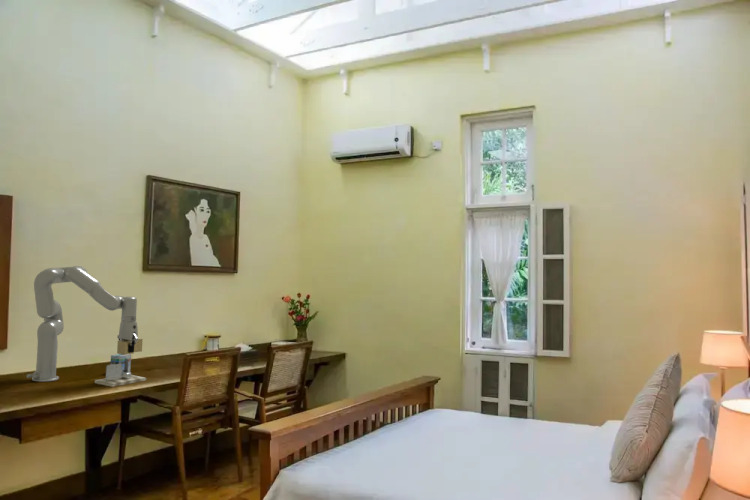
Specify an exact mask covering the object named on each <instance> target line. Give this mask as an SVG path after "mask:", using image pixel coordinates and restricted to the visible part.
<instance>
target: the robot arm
mask: <svg viewBox="0 0 750 500" xmlns="http://www.w3.org/2000/svg"><path fill="white" fill-rule="evenodd" d="M59 283H60V284H62V283H73V284H74V285H75V286H77V287H78V288H80V289H81V290H82V291H84V293H85V292H86V294H88V296H89V297H90V298H92V299H93V300H94V301H95V302H96V303H98V305H101V306H102V308H105V309H106V310H109V311H112V312H113V311H116V310H120V309H121V317H120V319H121V320H120V324H119V331H118V335H117V340H118V341H121V340H129V343H130V345H129V353H132V352H134V345H135V343H136V342H137V341H138V339H139V337H138V330H139V329H138V322H137V308H138V307H137V305H138V298H137V297H135V296H120V295H112V294H111V293H109V292H108V291H107V290H106V289H105V288H104V287H103V286H102V285H101V282H100V281H99V279H97V278H95V277H94V276H93V275H91V274H90V273H88V270H87V269H86V268H85V267H84V266H81V265H74V266H67V267H63V266H62V267H50V268H46V269H44V270H42V271H40V272H39V273H38V274H37V275H35V278H34V281H33V291H34V298H35V305H36V313H37V316H39V318H41V319H43V322H42V323H40V324H39V325H38V328H37V330H36V331H37V332H36V335H37V337H36V339H37V346H36V347H37V348H36V349H37V352H36V364H35V365H36V366H35V370H34V371H33V373H28V374H26V378H27V379H31V380H32V381H33V382H42V383H43V382H45V383H46V382H54V381H57V380H59V379H60V376H58V375H57V362H58V360H57V359H58V345H59V344H58V343H59V342H58V336H59V335H61V334H62V333H63V332H64V327H65V326H64V318H63V311H62V306H61V304H60V303H59V301H57V300H55V299H54V292H53V288H52V285H54V284H59ZM131 341H133V342H131ZM134 353H135V352H134Z"/></svg>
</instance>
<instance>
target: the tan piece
mask: <svg viewBox="0 0 750 500" xmlns="http://www.w3.org/2000/svg"><path fill="white" fill-rule="evenodd" d="M131 342H133V341H131ZM129 345H130V343H129V340H121V341H119V340H117V348H116V349H117V351H116V352H117V353H116V354H123V355H127V354H131V355H133V354H134V353H140V352H143V338H138V341H137V342H136V343H135V345H134V352H132V353H129Z"/></svg>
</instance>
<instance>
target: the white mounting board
mask: <svg viewBox="0 0 750 500" xmlns="http://www.w3.org/2000/svg"><path fill="white" fill-rule="evenodd" d="M105 379H106V377H105V378H100V379H94V384H97V385H102V386H107V387H112V388H113V387H114V388H115V387H119V386H125V385H129V384H134V383H139V382H144V381H145V382H146V381H147V377H144V376H138V375H134V374H131V378H130V379H119V380H113V381H108V382H105Z"/></svg>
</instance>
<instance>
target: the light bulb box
mask: <svg viewBox="0 0 750 500" xmlns="http://www.w3.org/2000/svg"><path fill="white" fill-rule="evenodd" d="M126 359H128V372H131V364H132V363H131V362H132V354H127V355H123V354H117V353H116V354H111V355H110V364H109V365H113V364H120V363H121V364H122V365H121V372H124V367H125V360H126Z"/></svg>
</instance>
